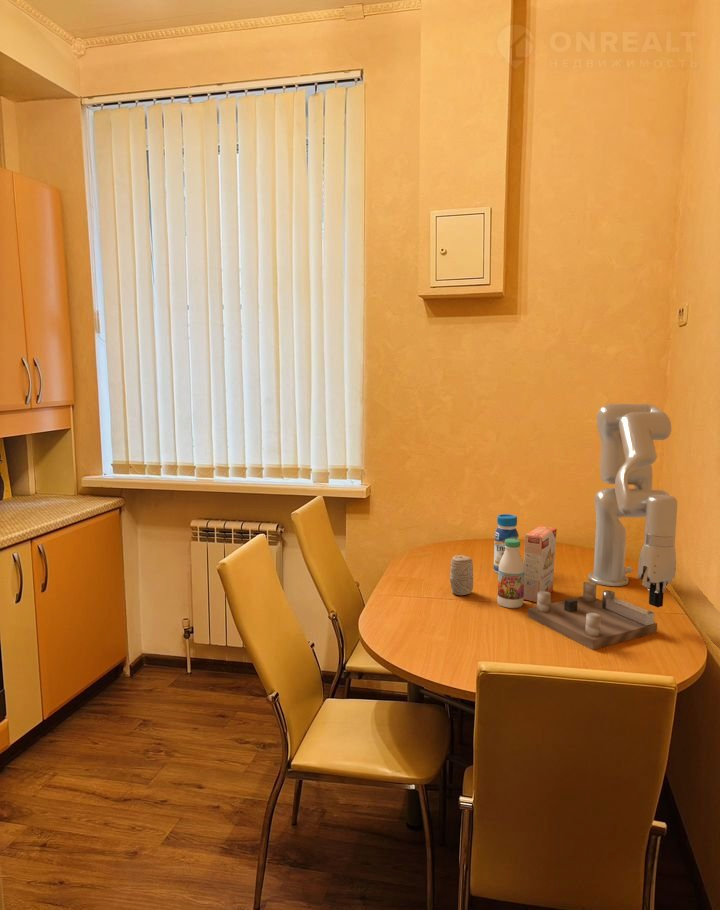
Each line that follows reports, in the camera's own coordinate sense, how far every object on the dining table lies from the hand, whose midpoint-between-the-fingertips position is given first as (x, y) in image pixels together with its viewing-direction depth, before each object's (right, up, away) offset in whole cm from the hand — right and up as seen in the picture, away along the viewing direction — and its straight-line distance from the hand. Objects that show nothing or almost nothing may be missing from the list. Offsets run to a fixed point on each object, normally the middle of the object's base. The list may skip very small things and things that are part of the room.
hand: (655, 605), depth 172 cm
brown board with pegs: (-17, -6, +3) cm, 18 cm away
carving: (-49, -3, +27) cm, 56 cm away
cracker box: (-25, -3, +25) cm, 36 cm away
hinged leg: (-7, -3, +3) cm, 8 cm away
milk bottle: (-36, -4, +18) cm, 40 cm away
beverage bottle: (-30, 0, +48) cm, 57 cm away
